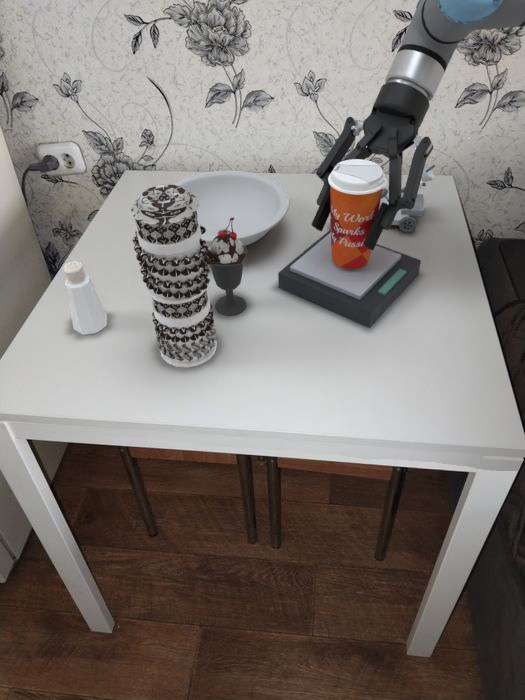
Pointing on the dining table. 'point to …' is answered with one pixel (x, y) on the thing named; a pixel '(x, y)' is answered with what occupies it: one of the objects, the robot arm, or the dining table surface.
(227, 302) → the sundae
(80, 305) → the pepper shaker
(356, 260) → the coffee cup
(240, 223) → the white bowl
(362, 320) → the scale
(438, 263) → the dining table surface
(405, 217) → the toy car
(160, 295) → the decorative candle
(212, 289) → the dining table surface
